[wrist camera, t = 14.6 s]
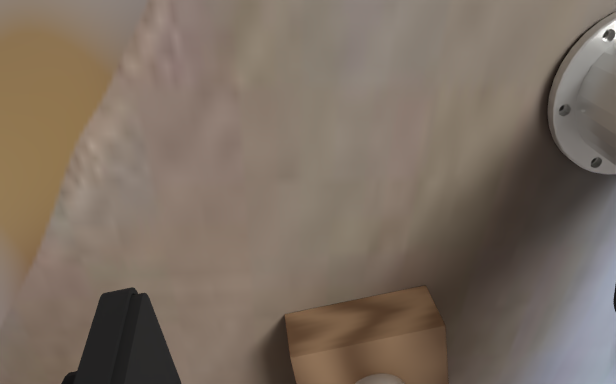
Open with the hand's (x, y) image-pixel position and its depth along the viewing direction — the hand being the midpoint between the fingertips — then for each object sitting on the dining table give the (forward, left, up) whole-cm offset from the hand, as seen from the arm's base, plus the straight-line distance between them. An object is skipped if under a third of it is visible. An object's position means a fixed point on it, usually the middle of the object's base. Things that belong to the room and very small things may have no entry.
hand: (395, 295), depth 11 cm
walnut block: (-2, +30, -28) cm, 41 cm away
